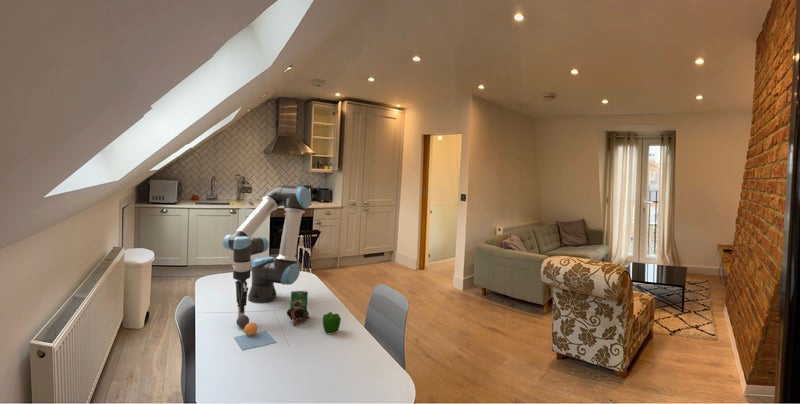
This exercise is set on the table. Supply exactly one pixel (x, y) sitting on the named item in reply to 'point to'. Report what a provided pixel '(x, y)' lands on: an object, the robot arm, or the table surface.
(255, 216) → the robot arm
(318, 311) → the table surface
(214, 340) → the table surface
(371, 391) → the table surface
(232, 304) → the table surface
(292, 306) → the coffee box
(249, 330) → the orange ball
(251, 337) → the blue mark
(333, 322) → the bell pepper
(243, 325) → the black ball
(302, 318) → the pottery mug
